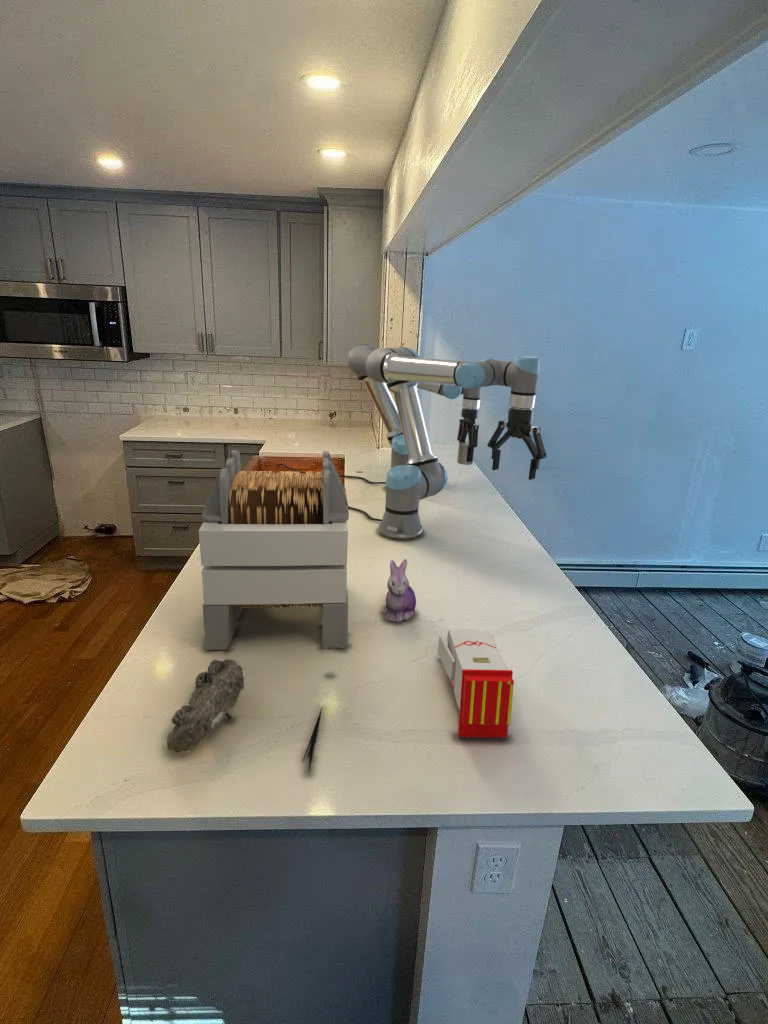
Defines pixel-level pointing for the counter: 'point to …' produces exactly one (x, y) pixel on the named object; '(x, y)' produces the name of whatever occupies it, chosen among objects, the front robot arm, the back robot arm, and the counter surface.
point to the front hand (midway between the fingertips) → (513, 474)
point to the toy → (478, 682)
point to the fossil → (206, 705)
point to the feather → (313, 740)
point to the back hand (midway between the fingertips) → (465, 459)
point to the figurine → (399, 594)
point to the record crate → (274, 548)
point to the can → (463, 453)
